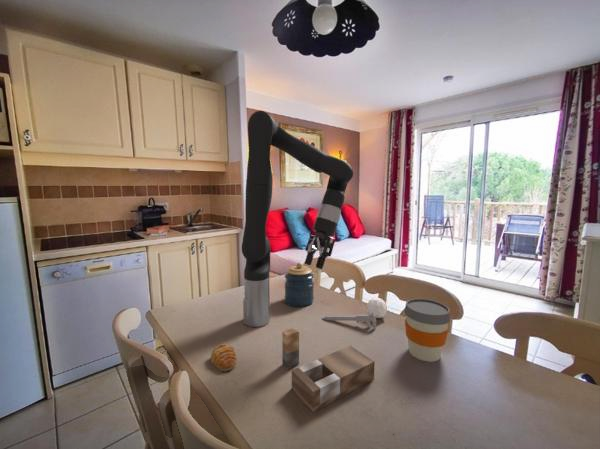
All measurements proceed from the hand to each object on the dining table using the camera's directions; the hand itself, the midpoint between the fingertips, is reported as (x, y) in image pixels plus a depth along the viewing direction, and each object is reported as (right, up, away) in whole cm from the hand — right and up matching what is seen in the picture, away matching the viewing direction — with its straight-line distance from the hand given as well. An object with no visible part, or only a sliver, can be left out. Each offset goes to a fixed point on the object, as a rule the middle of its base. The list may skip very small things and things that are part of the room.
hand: (312, 266), depth 92 cm
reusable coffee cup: (+34, -26, -6) cm, 43 cm away
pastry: (-26, -26, -11) cm, 39 cm away
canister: (-5, -21, +33) cm, 39 cm away
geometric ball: (+26, -23, +18) cm, 39 cm away
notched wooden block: (+4, -27, -20) cm, 34 cm away
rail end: (-7, -26, -12) cm, 30 cm away
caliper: (+14, -24, +13) cm, 30 cm away
